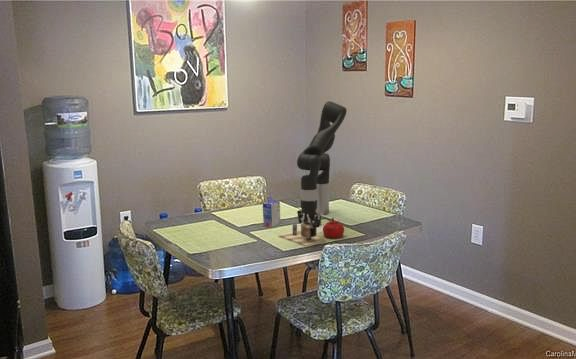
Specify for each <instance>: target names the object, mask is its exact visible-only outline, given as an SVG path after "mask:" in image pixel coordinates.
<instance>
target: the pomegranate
mask: <svg viewBox="0 0 576 359" xmlns="http://www.w3.org/2000/svg"><path fill="white" fill-rule="evenodd" d="M344 233H345V226H344V225H343V223H341V222H340V221H338V220H337V221H335V218H333V217H331V220H329V221H327V222H326V223H325V224H324V227H323V232H322V234H323V236H324V237H325V238H328V239H340V238H342V236H343V235H344Z"/></svg>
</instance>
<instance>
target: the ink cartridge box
mask: <svg viewBox="0 0 576 359" xmlns="http://www.w3.org/2000/svg"><path fill="white" fill-rule="evenodd" d="M266 198H267V201H266V202H263V203H262V214H263V215H262V216H263V221H262V222H263V227H269V228H272V227H276V226H277V225H279V224H280V223H281V202H280V199H272V196H268V197H266Z"/></svg>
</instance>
